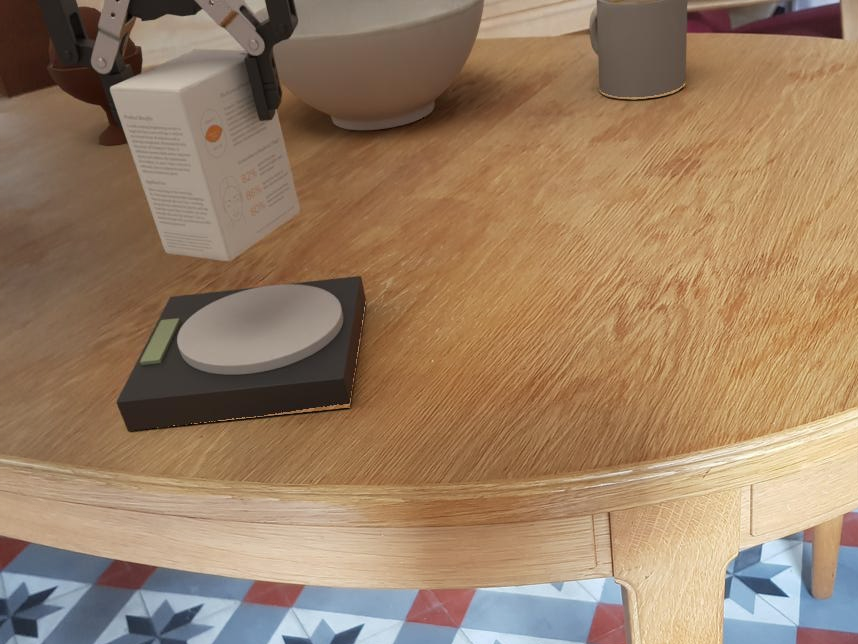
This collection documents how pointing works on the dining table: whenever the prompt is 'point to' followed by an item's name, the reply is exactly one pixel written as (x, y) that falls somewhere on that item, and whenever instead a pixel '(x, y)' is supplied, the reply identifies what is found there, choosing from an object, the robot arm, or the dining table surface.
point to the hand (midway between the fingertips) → (203, 124)
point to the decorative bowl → (376, 57)
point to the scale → (247, 354)
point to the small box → (206, 154)
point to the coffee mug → (640, 46)
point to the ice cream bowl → (93, 77)
